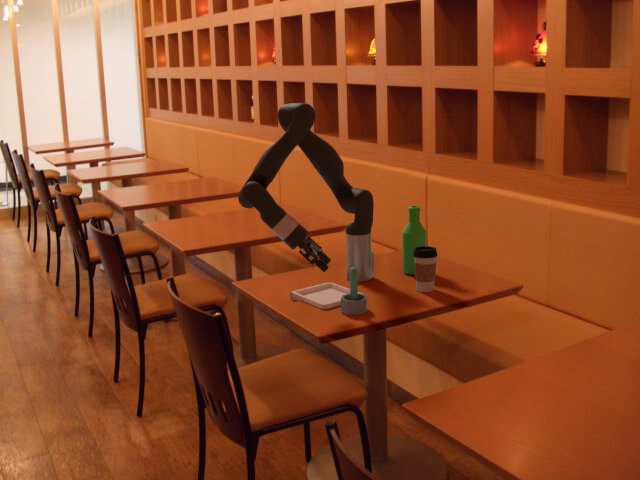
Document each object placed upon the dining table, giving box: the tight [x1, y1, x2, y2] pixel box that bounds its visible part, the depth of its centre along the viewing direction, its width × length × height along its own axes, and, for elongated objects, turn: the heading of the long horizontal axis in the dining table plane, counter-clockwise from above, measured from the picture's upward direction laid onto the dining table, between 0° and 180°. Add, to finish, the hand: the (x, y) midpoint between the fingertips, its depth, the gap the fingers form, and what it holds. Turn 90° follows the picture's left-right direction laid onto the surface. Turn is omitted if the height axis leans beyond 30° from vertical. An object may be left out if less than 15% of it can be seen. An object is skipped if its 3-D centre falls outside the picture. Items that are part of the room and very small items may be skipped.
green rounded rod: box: [349, 267, 359, 300], centre depth 248 cm, size 2×2×14 cm
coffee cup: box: [413, 245, 438, 293], centre depth 270 cm, size 8×8×15 cm
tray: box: [289, 281, 366, 311], centre depth 264 cm, size 17×19×2 cm
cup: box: [340, 292, 369, 316], centre depth 249 cm, size 8×8×6 cm
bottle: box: [401, 205, 427, 276], centre depth 290 cm, size 9×9×25 cm
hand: (327, 266), depth 247 cm, fingers open, 8 cm apart
